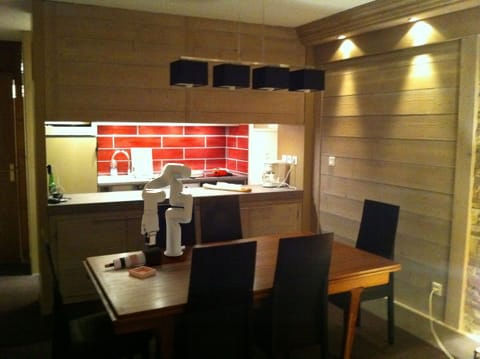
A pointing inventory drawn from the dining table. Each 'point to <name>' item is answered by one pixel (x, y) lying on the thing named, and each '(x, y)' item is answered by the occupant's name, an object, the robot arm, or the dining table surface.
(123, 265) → the striped tapered cylinder
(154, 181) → the robot arm
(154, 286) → the dining table surface
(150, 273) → the dish
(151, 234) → the block
